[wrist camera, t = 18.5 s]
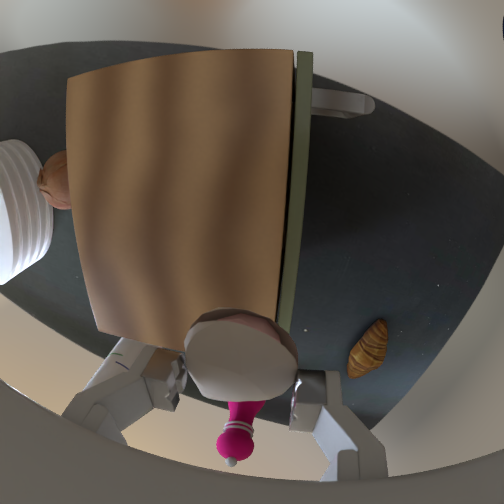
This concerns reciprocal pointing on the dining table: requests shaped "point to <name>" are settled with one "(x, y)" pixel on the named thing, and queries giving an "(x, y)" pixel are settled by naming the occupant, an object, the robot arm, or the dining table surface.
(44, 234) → the plate stack
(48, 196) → the onion
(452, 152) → the dining table surface
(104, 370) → the cylindrical container
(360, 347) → the croissant
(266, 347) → the clam shell
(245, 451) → the pepper mill
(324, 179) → the dining table surface
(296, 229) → the cupboard door
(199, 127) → the cupboard
